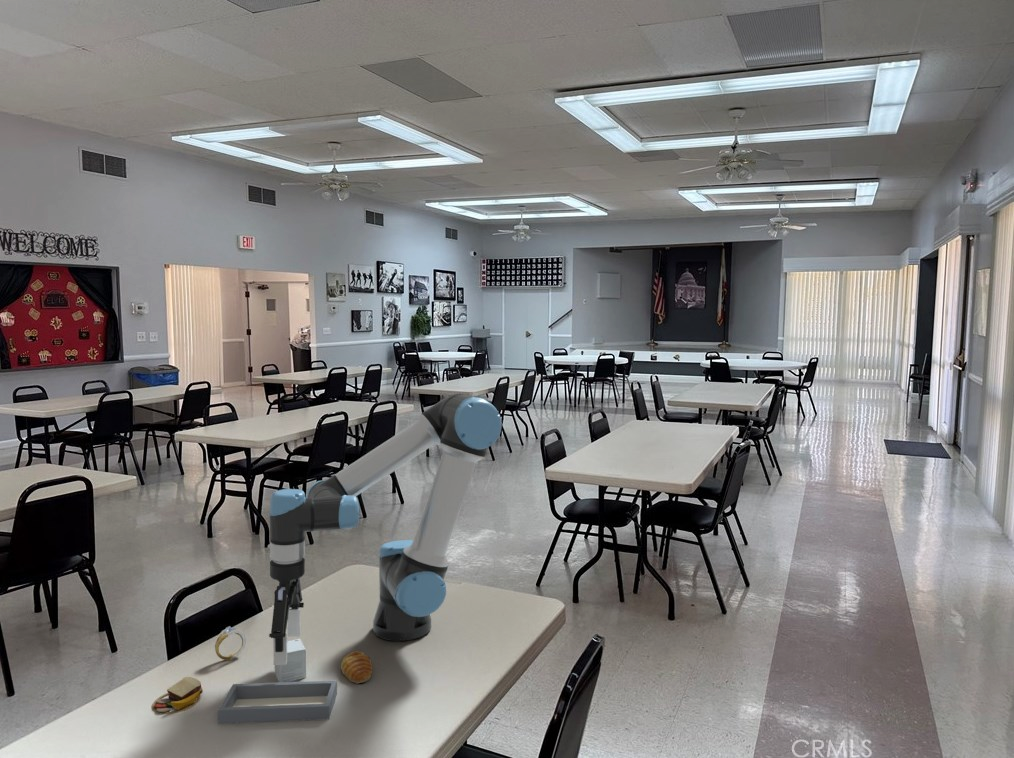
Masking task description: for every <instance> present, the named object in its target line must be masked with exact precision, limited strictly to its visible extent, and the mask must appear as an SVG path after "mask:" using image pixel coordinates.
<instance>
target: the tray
mask: <svg viewBox="0 0 1014 758" xmlns="http://www.w3.org/2000/svg"><path fill="white" fill-rule="evenodd" d="M337 696H338V680H315V681H314V680H313V681H311V680H310V681H309V680H308V681H290V682H280V683H279V682H257V683H253V682H252V683H233V684H232V685H231V687H230V689H229V690H228V692H227V694H226V696H225V697H224V699H223V700H222V702H221V704H220V706H219V707H218V709H217V723H218V725H227V724H232V725H233V724H249V723H250V724H251V723H271V722H272V723H275V722H276V723H277V722H296V721H297V722H300V721H318V720H319V721H320V720H322V721H323V720H330V719H331V716H332V712H333V710H334V706H335V702H336V698H337Z"/></svg>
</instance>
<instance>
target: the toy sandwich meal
mask: <svg viewBox="0 0 1014 758" xmlns="http://www.w3.org/2000/svg"><path fill="white" fill-rule="evenodd" d="M166 691H167V693H164V694H162V695H161V696H159V697H158V698H156V699H155V700H154V701H153V702H152V705H151V709H152V710H153V712H155V713H156V714H160V713H161V715H173V714H178V713H182V712H184V711H188V710H189V709H192V708H194V707H195V706H196V705H197V704H198V703H200V701H201V697H202V696H201V694H203V692H204V690H203V688H202V683H201V682H200V680H199V679H198V678H195V677H192V676H191V677H190V676H185V677H183V678H182V679H181V680H179V681H178V682H176V683H175V684H173V685H172V686H170V687H168V688H167V689H166ZM167 697H168V698H167ZM173 709H175V710H176V711H173Z"/></svg>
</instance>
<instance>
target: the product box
mask: <svg viewBox="0 0 1014 758" xmlns="http://www.w3.org/2000/svg"><path fill="white" fill-rule="evenodd" d="M274 675H275V676H276V678H277V681H278V683H280V682H295V681H297V680H301V679H306V678H307V649H306V648H305V646H304V643H303V641H302V639H301V638H296V639H292V640H287V664H286V665H274Z"/></svg>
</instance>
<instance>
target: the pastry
mask: <svg viewBox="0 0 1014 758" xmlns="http://www.w3.org/2000/svg"><path fill="white" fill-rule="evenodd" d="M340 669H341V672H342V674H343V676H345V677H346V679H347V680H348V681H350V683H354V684H360V683H361V684H362V683H365V682H369V681H370V679H371V677H372V673H373V664H372V661H371V658H370V657H369V656H368V655H367V654H364V652H362V651H360V650H356V651H354V650H353V651H352V652H350V653H347V654H346V655H345V656H344V657H343V659H342V660H341V666H340Z"/></svg>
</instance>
